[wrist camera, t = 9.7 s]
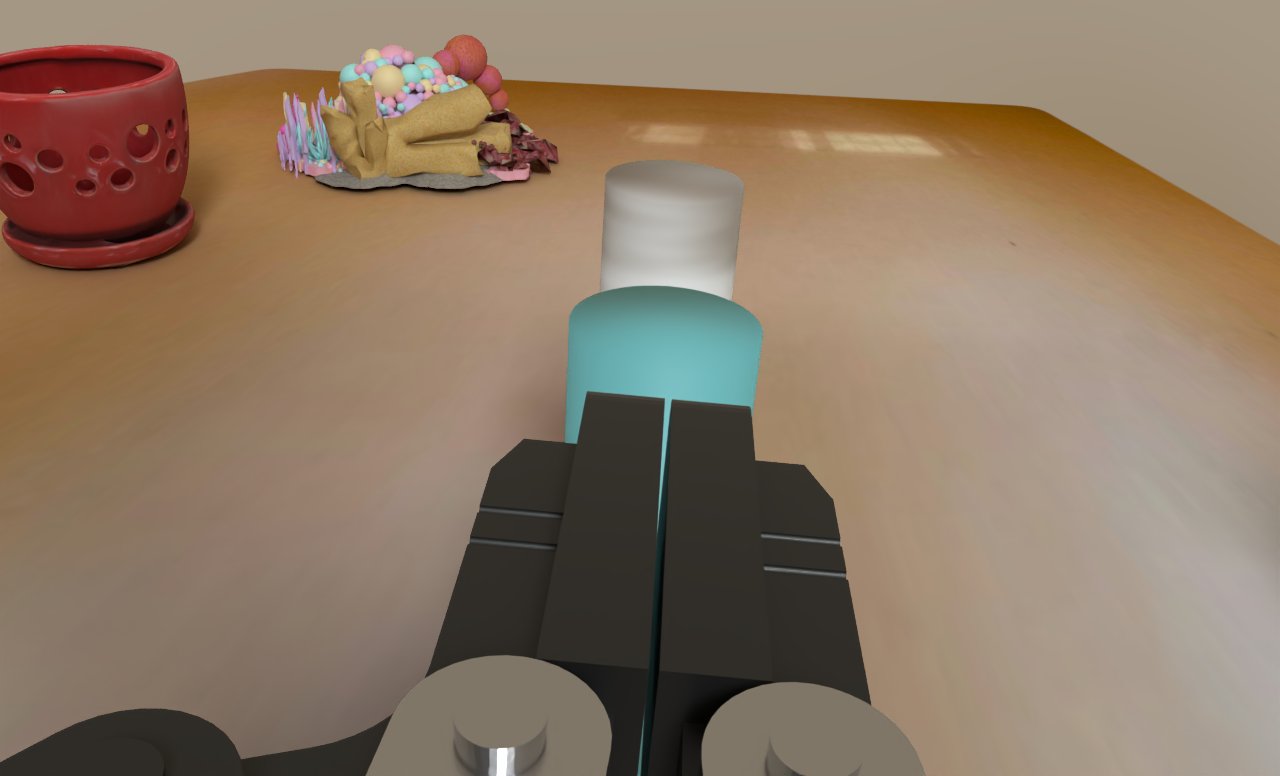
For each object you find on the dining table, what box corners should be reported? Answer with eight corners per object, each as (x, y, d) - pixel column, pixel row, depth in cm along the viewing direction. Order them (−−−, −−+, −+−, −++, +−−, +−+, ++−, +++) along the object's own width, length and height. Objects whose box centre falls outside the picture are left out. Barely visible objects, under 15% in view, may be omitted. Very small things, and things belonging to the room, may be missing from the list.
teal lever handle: (785, 937, 29) (894, 385, 21) (541, 916, 29) (558, 359, 21) (776, 812, 32) (865, 301, 24) (558, 794, 32) (578, 279, 24)
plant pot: (70, 204, 80) (38, 34, 74) (239, 226, 78) (219, 54, 72) (-62, 269, 68) (-112, 74, 63) (132, 296, 67) (99, 99, 61)
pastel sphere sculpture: (594, 189, 92) (599, 77, 87) (306, 214, 82) (295, 89, 78) (496, 112, 111) (497, 17, 107) (254, 125, 102) (244, 22, 97)
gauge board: (896, 1380, 23) (1157, 702, 14) (275, 1325, 23) (137, 619, 14) (797, 589, 46) (871, 140, 37) (486, 564, 46) (485, 111, 37)
